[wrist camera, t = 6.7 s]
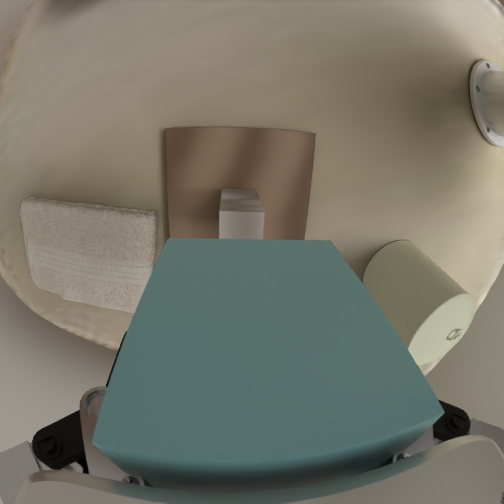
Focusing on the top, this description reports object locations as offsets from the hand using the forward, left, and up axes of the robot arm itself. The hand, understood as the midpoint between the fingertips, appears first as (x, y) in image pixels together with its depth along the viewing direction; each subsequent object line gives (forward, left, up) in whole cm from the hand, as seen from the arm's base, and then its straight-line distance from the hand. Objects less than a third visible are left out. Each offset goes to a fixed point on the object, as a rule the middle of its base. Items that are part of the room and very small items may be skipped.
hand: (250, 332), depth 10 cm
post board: (0, 0, -17) cm, 17 cm away
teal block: (0, 0, -2) cm, 2 cm away
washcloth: (+17, +5, -18) cm, 25 cm away
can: (-20, +8, -17) cm, 27 cm away
